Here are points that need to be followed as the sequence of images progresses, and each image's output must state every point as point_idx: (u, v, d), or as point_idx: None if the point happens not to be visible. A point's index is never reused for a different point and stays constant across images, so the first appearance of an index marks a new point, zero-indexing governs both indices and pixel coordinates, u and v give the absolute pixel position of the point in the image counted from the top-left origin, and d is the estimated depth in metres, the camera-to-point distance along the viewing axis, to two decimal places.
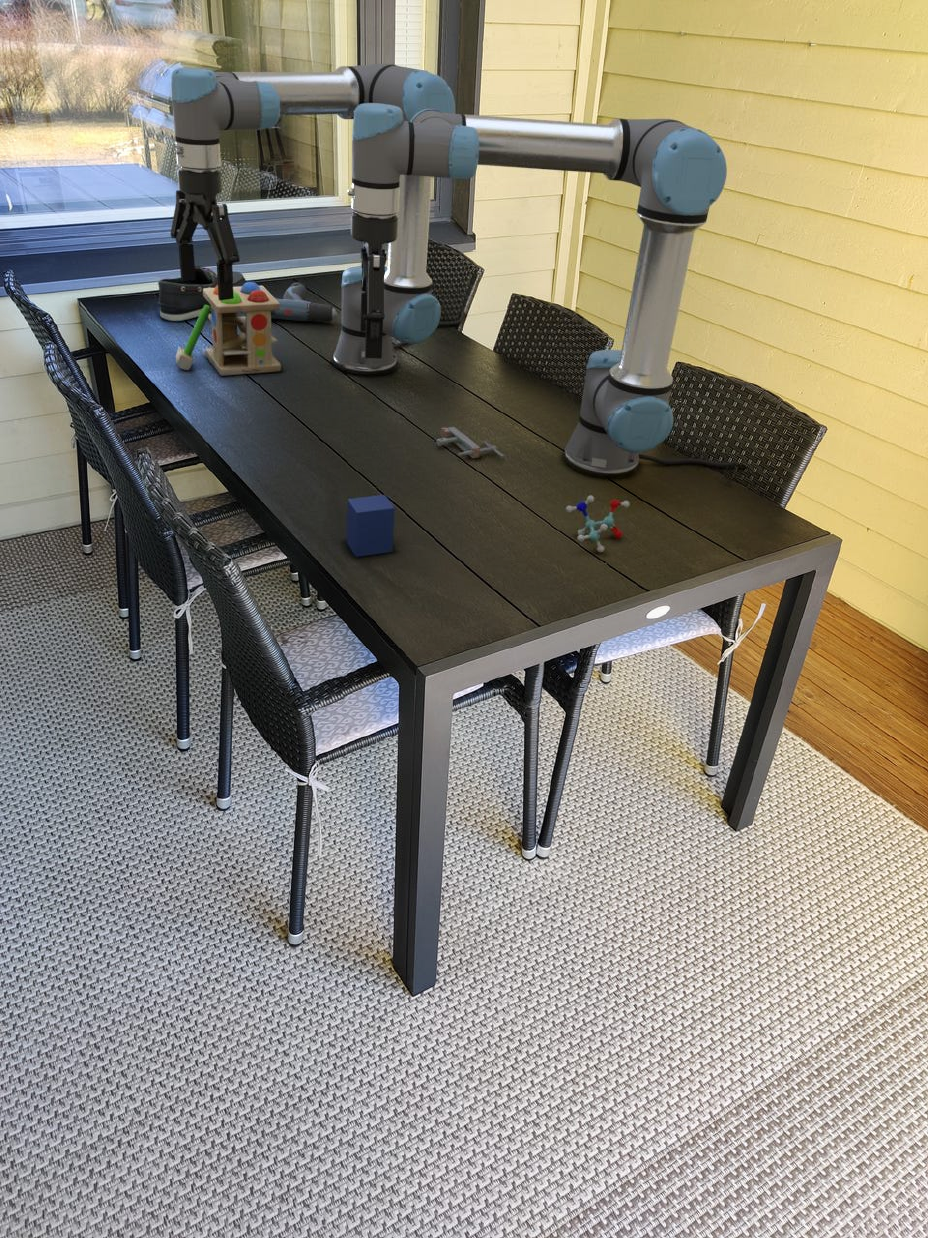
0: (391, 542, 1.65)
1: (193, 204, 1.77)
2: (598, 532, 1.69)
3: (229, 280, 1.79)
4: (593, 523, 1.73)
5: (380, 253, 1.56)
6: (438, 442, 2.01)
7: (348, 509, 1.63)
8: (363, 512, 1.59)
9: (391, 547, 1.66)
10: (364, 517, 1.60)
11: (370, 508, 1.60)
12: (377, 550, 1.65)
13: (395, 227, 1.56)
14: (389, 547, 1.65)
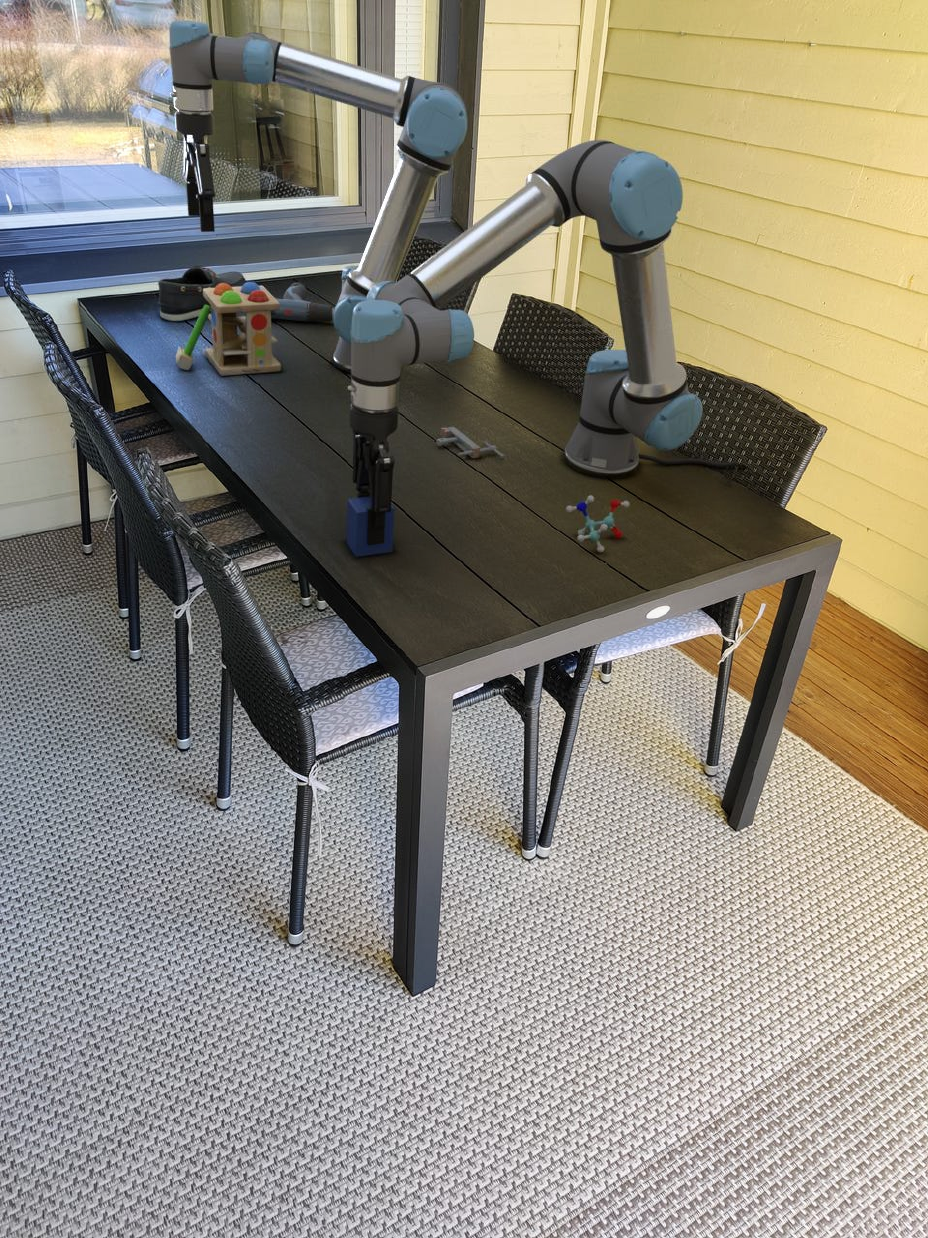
0: (391, 542, 1.65)
1: (189, 144, 1.99)
2: (598, 532, 1.69)
3: (208, 213, 1.99)
4: (593, 523, 1.73)
5: (386, 445, 1.53)
6: (438, 442, 2.01)
7: (348, 509, 1.63)
8: (363, 512, 1.59)
9: (391, 547, 1.66)
10: (364, 517, 1.60)
11: None
12: (377, 550, 1.65)
13: (397, 417, 1.53)
14: (389, 547, 1.65)
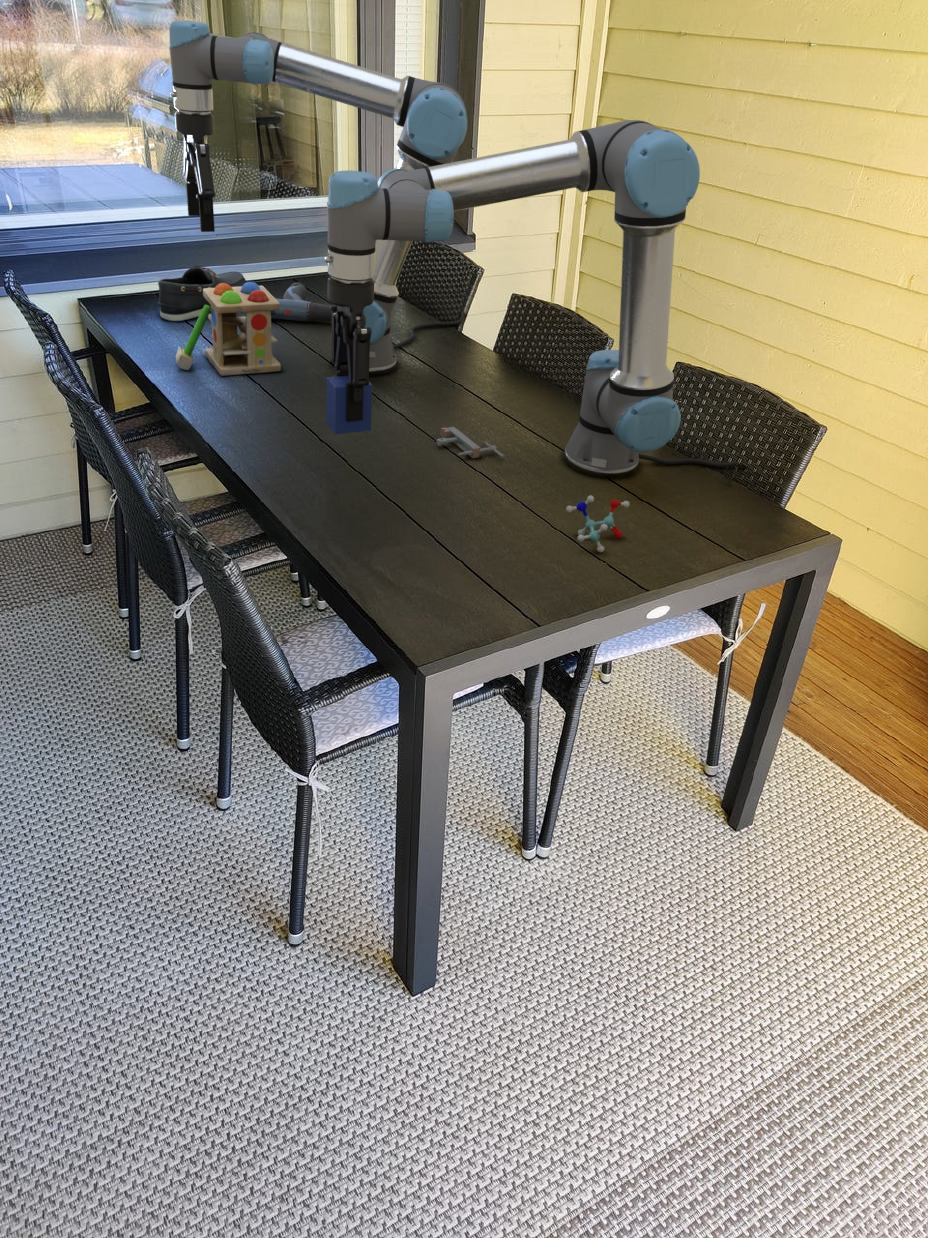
0: (369, 420, 1.70)
1: (189, 144, 1.99)
2: (598, 532, 1.69)
3: (208, 213, 1.99)
4: (593, 523, 1.73)
5: (363, 316, 1.57)
6: (438, 442, 2.01)
7: (327, 387, 1.68)
8: (341, 387, 1.64)
9: (370, 426, 1.70)
10: (342, 392, 1.65)
11: None
12: (356, 428, 1.69)
13: (373, 289, 1.58)
14: (368, 425, 1.70)
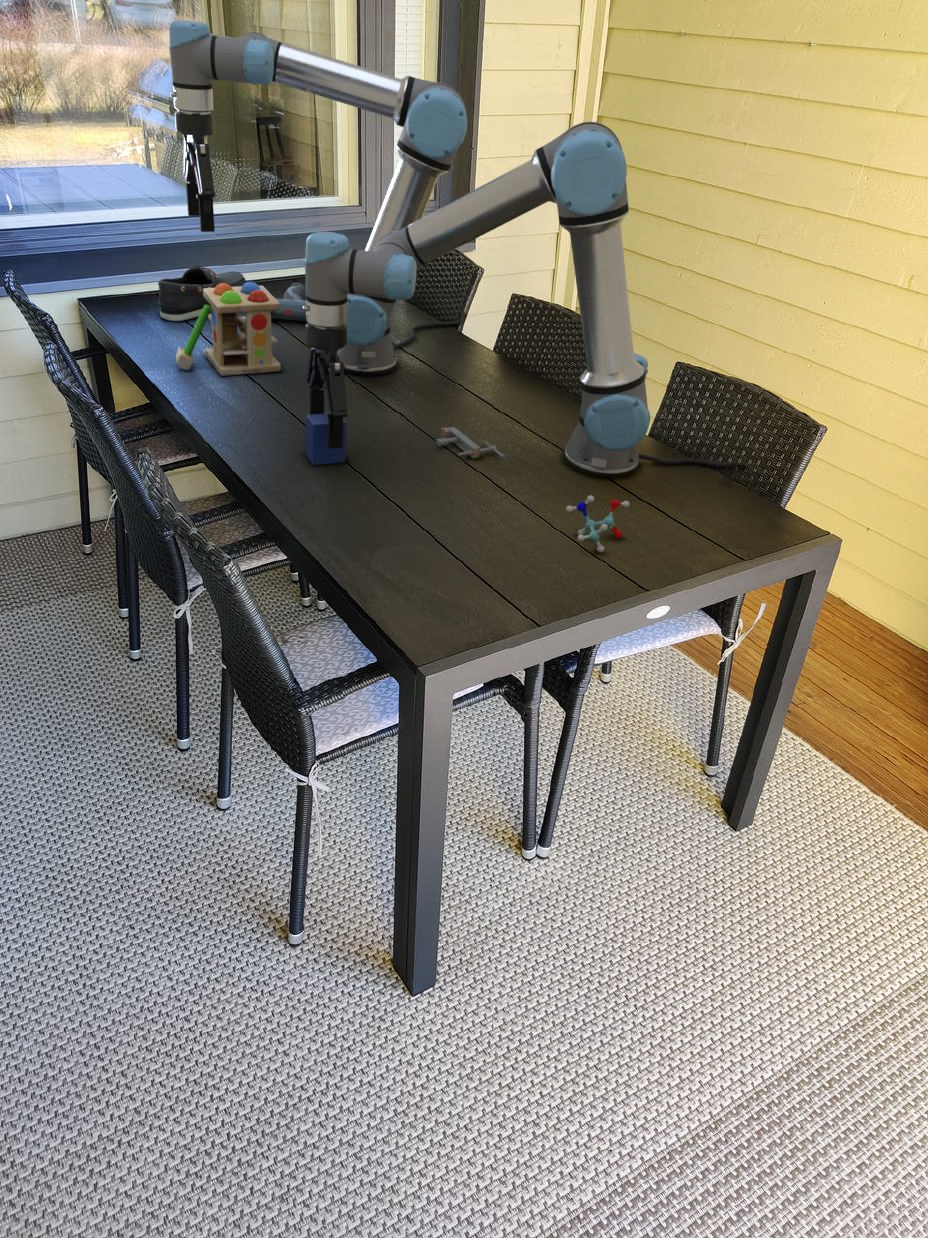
0: (344, 453, 1.92)
1: (189, 144, 1.99)
2: (598, 532, 1.69)
3: (208, 213, 1.99)
4: (593, 523, 1.73)
5: (337, 358, 1.79)
6: (438, 442, 2.01)
7: (306, 424, 1.90)
8: (318, 424, 1.86)
9: (344, 458, 1.93)
10: (319, 429, 1.87)
11: (325, 422, 1.87)
12: (332, 460, 1.92)
13: (346, 334, 1.79)
14: (342, 457, 1.92)
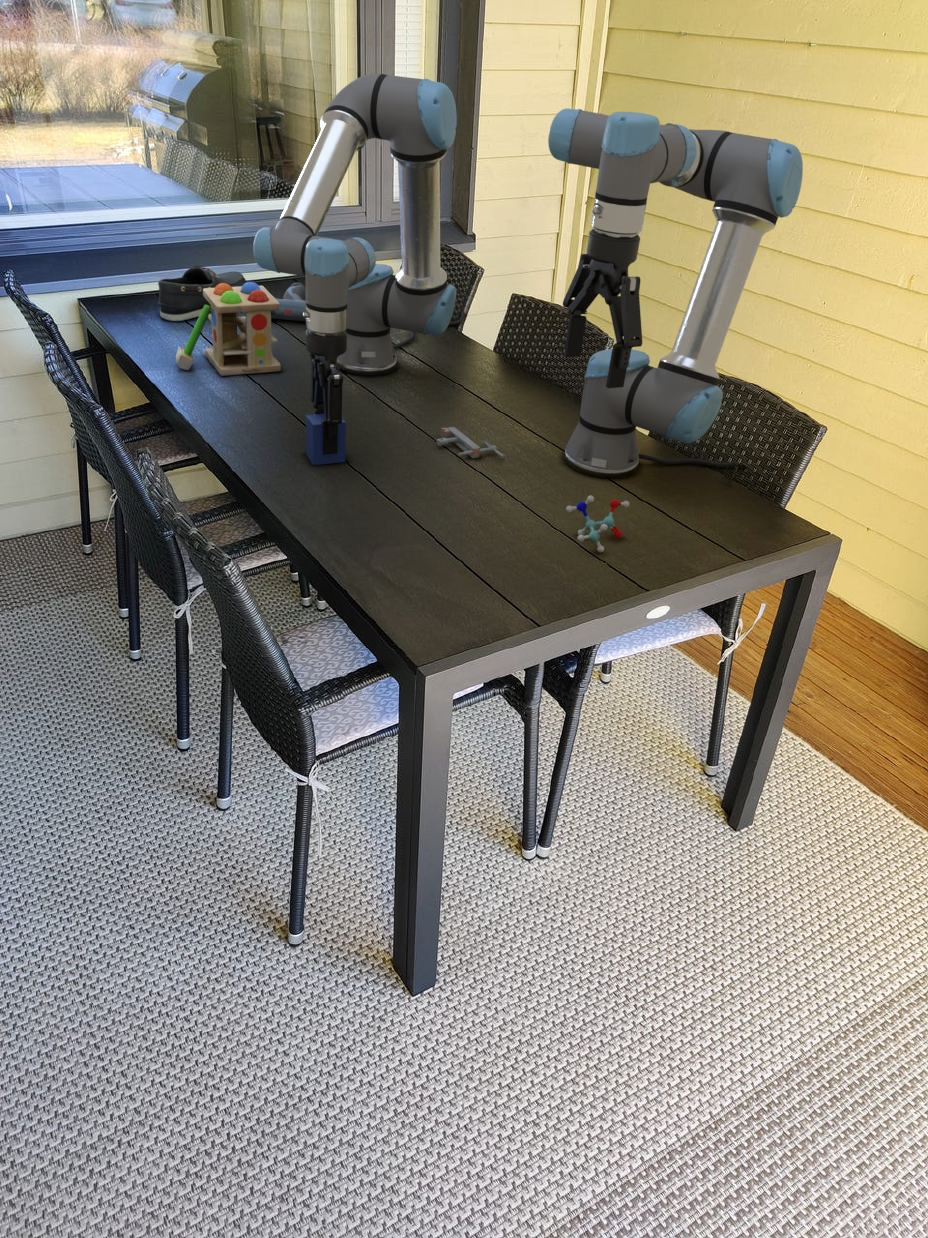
0: (344, 453, 1.92)
1: (318, 360, 1.83)
2: (598, 532, 1.69)
3: (332, 438, 1.87)
4: (593, 523, 1.73)
5: None
6: (438, 442, 2.01)
7: (306, 424, 1.90)
8: (318, 424, 1.86)
9: (344, 458, 1.93)
10: (319, 429, 1.87)
11: None
12: (332, 460, 1.92)
13: None
14: (342, 457, 1.92)
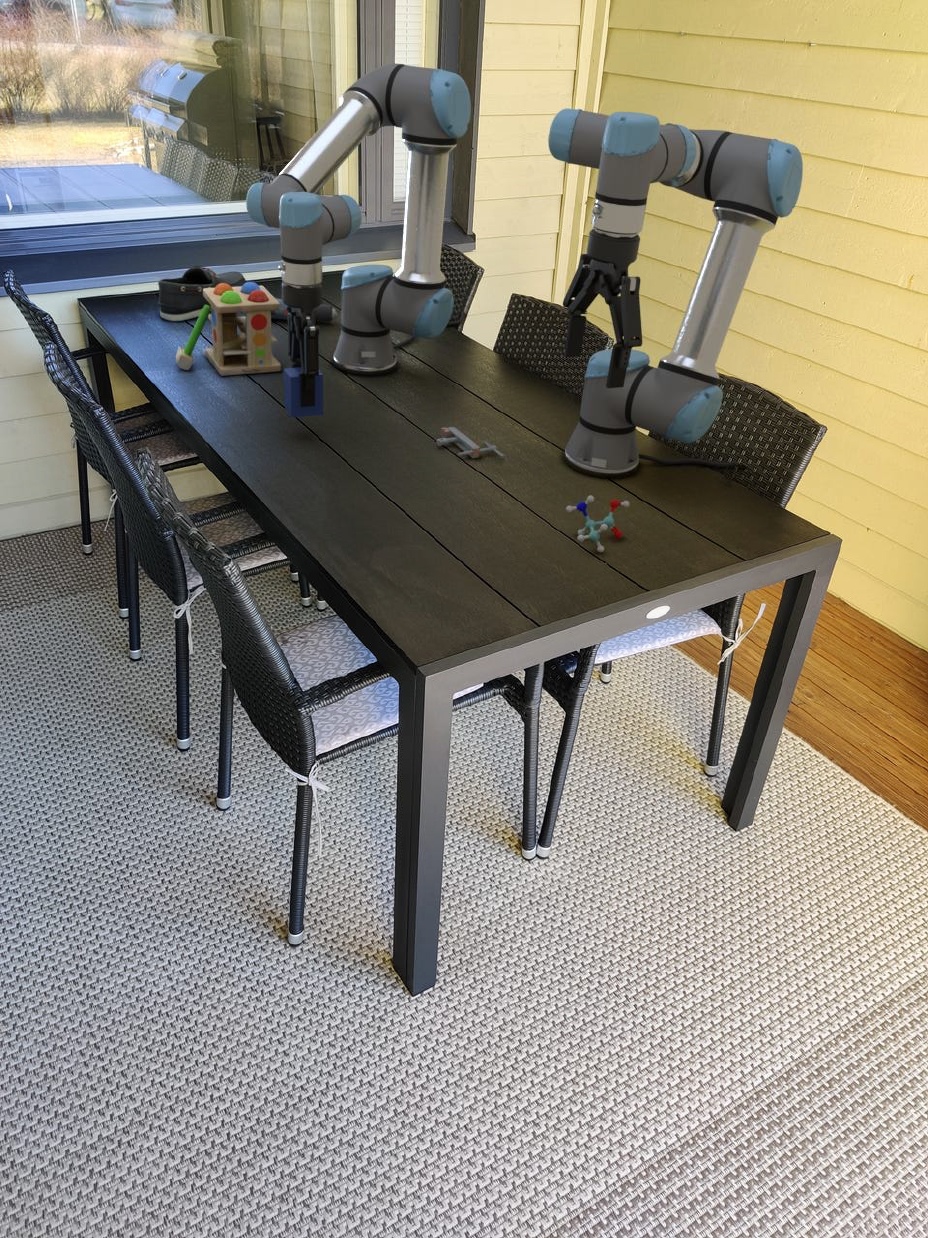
0: (321, 405, 1.96)
1: (294, 312, 1.87)
2: (598, 532, 1.69)
3: (310, 390, 1.92)
4: (593, 523, 1.73)
5: None
6: (438, 442, 2.01)
7: (284, 377, 1.94)
8: (296, 377, 1.91)
9: (322, 410, 1.97)
10: (297, 381, 1.91)
11: None
12: (310, 412, 1.96)
13: None
14: (320, 410, 1.97)
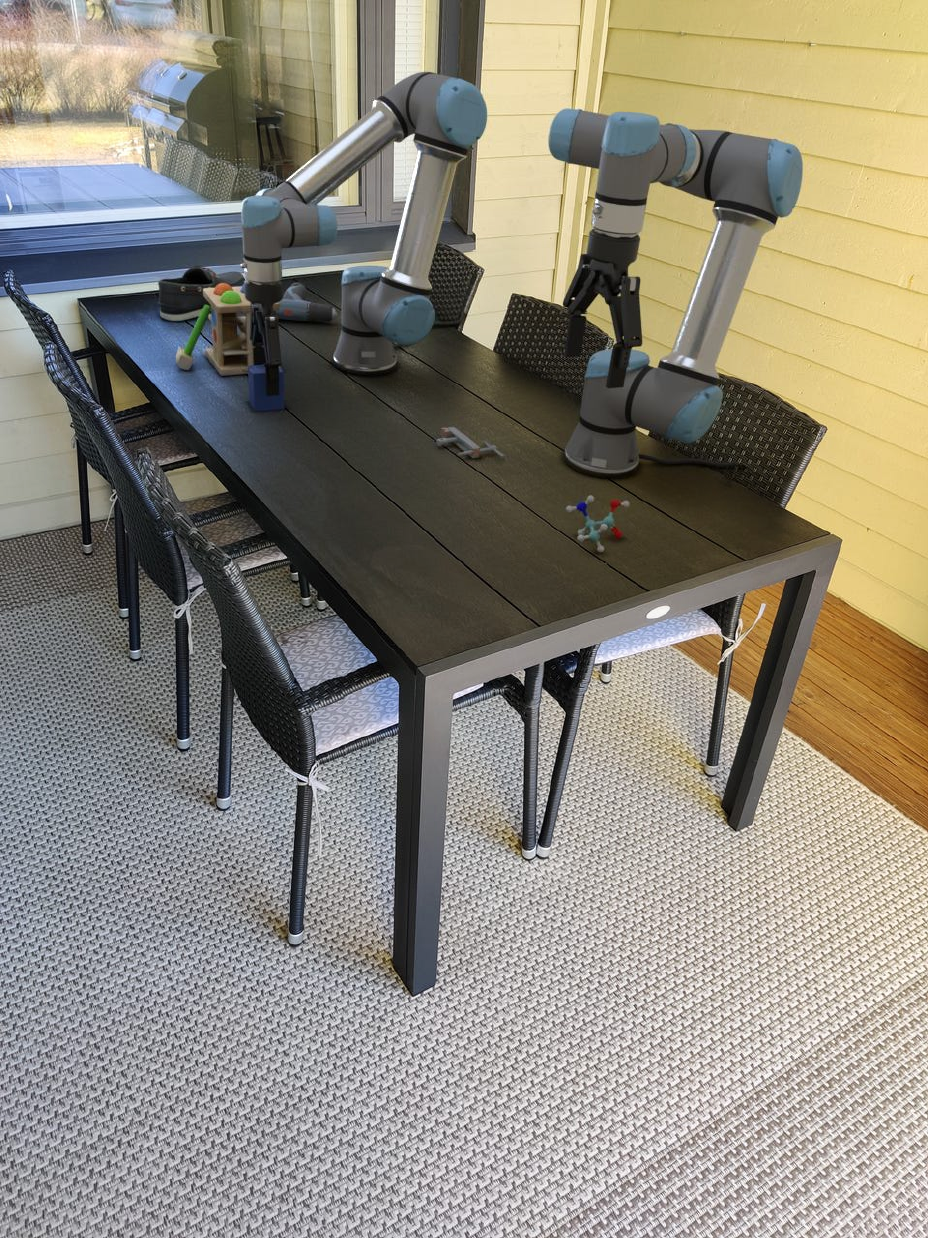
0: (283, 400, 2.11)
1: (257, 309, 2.01)
2: (598, 532, 1.69)
3: (274, 380, 2.03)
4: (593, 523, 1.73)
5: None
6: (438, 442, 2.01)
7: (248, 373, 2.09)
8: (258, 373, 2.05)
9: (283, 405, 2.12)
10: (259, 377, 2.06)
11: (264, 371, 2.06)
12: (272, 407, 2.11)
13: None
14: (281, 405, 2.11)
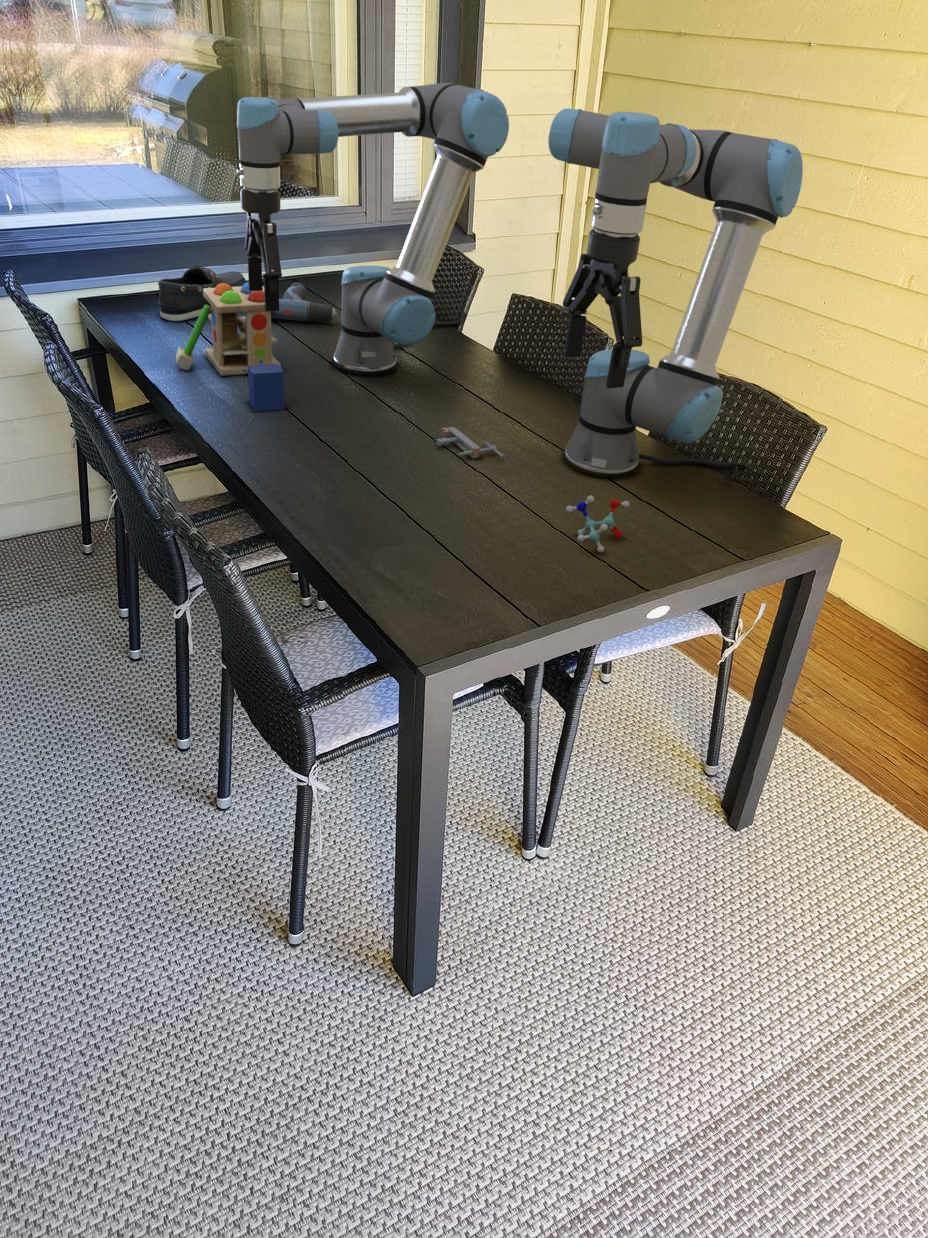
0: (283, 400, 2.11)
1: (254, 221, 1.91)
2: (598, 532, 1.69)
3: (273, 293, 1.92)
4: (593, 523, 1.73)
5: None
6: (438, 442, 2.01)
7: (248, 373, 2.09)
8: (258, 373, 2.05)
9: (283, 405, 2.12)
10: (259, 378, 2.06)
11: (264, 371, 2.06)
12: (272, 407, 2.11)
13: None
14: (281, 405, 2.11)
